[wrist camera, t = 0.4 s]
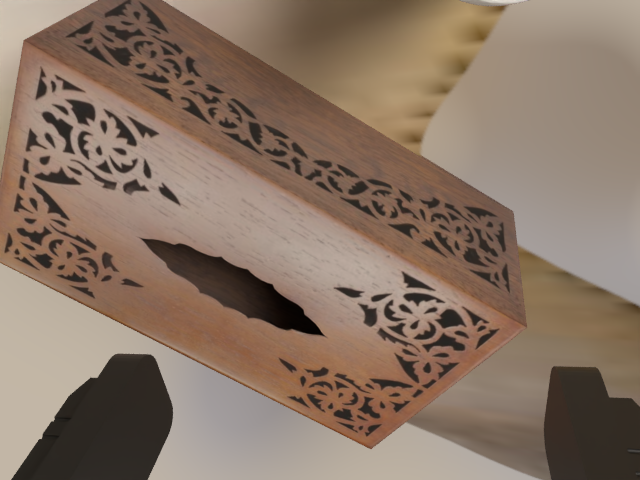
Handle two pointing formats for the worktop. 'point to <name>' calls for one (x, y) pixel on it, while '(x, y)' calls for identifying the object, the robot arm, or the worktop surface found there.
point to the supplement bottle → (493, 2)
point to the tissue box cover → (249, 220)
